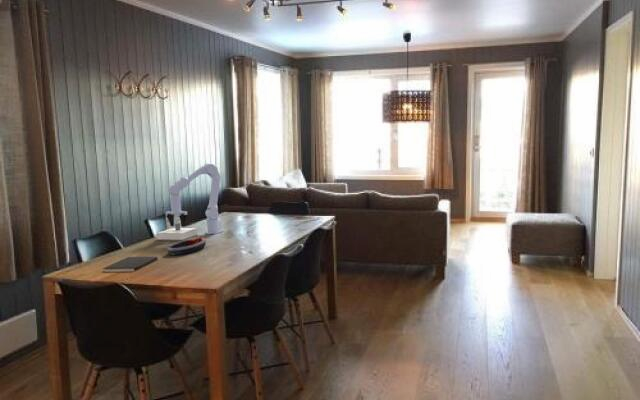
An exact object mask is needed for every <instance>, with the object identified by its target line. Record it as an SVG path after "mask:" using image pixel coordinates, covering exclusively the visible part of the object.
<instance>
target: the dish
mask: <svg viewBox="0 0 640 400" xmlns="http://www.w3.org/2000/svg"><path fill="white" fill-rule="evenodd" d="M206 243H207V239H206V238H205V237H203V236H202V237H193V238H189V239H186V240H183V241H176V242H175V243H172V244H168V245H167V246H166V251H167V252H168V253H169V255H172V256H179V255H185V254H190V253H194V252H196V251H199V250H202V249H203V248H204V247H205V246H206Z"/></svg>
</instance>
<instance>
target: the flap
mask: <svg viewBox="0 0 640 400" xmlns="http://www.w3.org/2000/svg"><path fill="white" fill-rule="evenodd" d="M195 229H197V228H196V227H182V228H180V224H178V223H176V224H175V228H171V229H167V228H166V229H165V230H164V231H192V230H195Z"/></svg>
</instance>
